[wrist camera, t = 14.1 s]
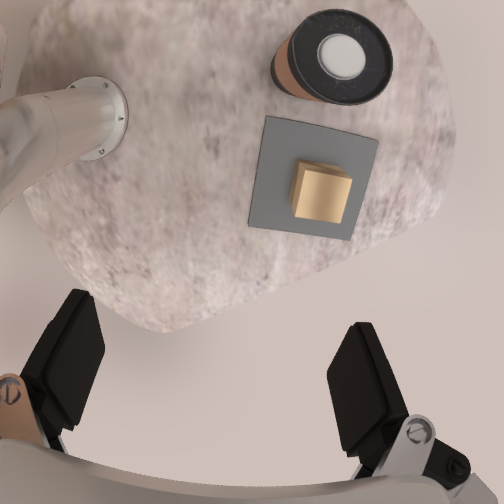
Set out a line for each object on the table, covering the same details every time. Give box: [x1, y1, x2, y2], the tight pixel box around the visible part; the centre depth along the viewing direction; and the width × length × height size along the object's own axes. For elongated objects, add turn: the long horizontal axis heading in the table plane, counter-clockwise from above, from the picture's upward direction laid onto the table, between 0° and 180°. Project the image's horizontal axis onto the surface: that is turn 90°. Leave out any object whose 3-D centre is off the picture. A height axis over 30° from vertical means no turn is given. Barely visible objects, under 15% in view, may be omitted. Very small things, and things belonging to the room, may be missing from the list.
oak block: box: [289, 159, 352, 223], centre depth 38 cm, size 6×6×6 cm
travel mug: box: [271, 9, 393, 106], centre depth 25 cm, size 8×8×20 cm
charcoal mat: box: [248, 116, 379, 241], centre depth 41 cm, size 16×16×1 cm
